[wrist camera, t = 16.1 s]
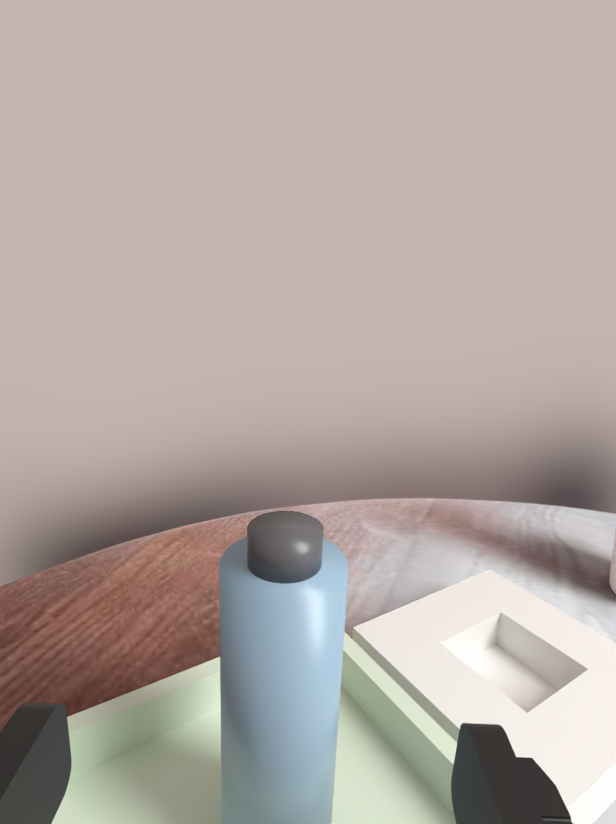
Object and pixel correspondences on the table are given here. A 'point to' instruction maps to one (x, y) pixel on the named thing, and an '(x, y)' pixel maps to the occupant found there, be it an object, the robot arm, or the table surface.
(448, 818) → the tray
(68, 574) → the table surface
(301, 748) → the bottle
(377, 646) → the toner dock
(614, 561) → the candle holder
